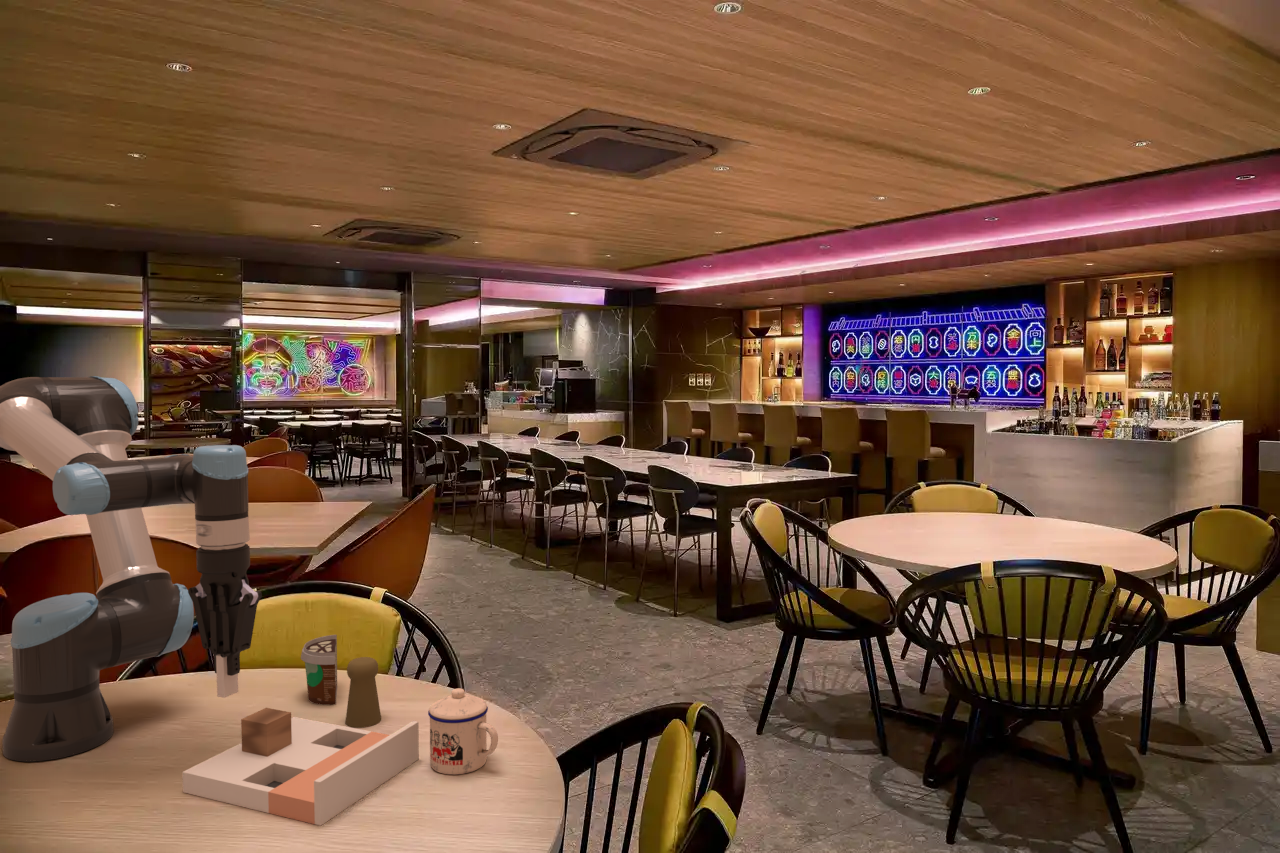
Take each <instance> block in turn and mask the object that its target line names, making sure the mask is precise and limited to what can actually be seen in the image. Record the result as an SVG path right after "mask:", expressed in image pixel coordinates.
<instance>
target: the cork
mask: <svg viewBox="0 0 1280 853" xmlns="http://www.w3.org/2000/svg"><path fill="white" fill-rule="evenodd" d="M378 672H379V663H378V662H377V660H376V659H375V658H373V657H368V656H360V657H357V658H354V659H352V660H350V661H349V663H348V664H347V668H346V674H347V677H348V678H349V679H350V683H349V690H348V697H347V707H346V713H345V714H346V715H345V724H344V725H346V727H351V728H356V729H361V728H362V729H363V728H369V727H372V726H375V725H377V724H379V723H380V722H381V721H382V714H381V707H380V701H379V695H378V689H377V682H376V676H377V675H378Z"/></svg>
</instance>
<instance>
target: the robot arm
mask: <svg viewBox="0 0 1280 853" xmlns="http://www.w3.org/2000/svg"><path fill="white" fill-rule="evenodd" d="M138 415H139V408H138V404H137V400H136V399H135V395H134V394H133V391H131V389H130V388H129V387H128V385H126V384H125V383H124V382H123V381H121V380H119V379H118V378H114V377H101V376H98V375H97V376H96V375H92V376H91V375H90V376H87V377H85V376H82V377H80V376H79V377H75V376H74V377H70V376H67V377H65V376H63V377H60V376H59V377H57V376H56V377H55V376H54V377H49V376H47V377H46V376H45V377H43V376H42V377H41V376H40V377H39V376H30V377H29V376H27V377H22V378H17V379H14V380H11V381H10V380H9V381H7V382H5V383H3V384H2V385H0V448H3V449H4V450H7V451H13V452H16V453H17V454H18V455H20V456H21V457H23V458H24V459H25V460H26V461H28V462H29V463H30V464H32V465H33V466H34V467H35V468H36V469H37V470H39V471H40V472H41V473H42V474H44V475H45V476H47V477H48V478H49V479H50V480H51V481H52V495H53V499H54V502H55V503H56V504H57V508H58V509H59V510H58V511H60V512H62V513H63V514H65V515H68V516H78V515H79V516H80V515H86V520H87V524H88V527H89V531H90V535H91V539H92V542H93V546H94V550H95V553H96V558H97V562H98V566H99V569H100V574H101V577H102V584H101V585H100V586H99V588H98V590H97V591H96V592H95V594H96V595H95V594H93V593H90V592H73V593H71V594H62V595H56V596H52V597H47V598H45V599H42V600H38V601H36V602H33V603H31V604H29V605H27V606H26V607H23V608H22V609H21V610H19V611H18V612H17V613H16V614H15V616H14V618H13V620H12V624H11V638H10V646H11V649H12V650H11V651H12V652H11V653H12V673H13V674H12V675H13V676H12V677H13V698H14V699H13V700H14V702H13V707H12V710H11V713H10V716H9V719H8V723H7V726H6V727H5V728H6V729H5V733H4V734H3V736H2V754H3V756H4V757H5V758H6V759H8V760H12V761H17V762H41V761H42V762H43V761H51V760H57V759H62V758H66V757H70V756H76V755H78V754H80V753H84V752H87V751H89V750H92V749H94V748H96V747H99V746H101V745H102V744H104V743H106V742H107V741H108V740H109V739H111V737H112V736H113V734H114V719H113V718H114V717H113V716H112V714H111V711H110V709H109V707H108V705H107V701H106V700H105V698H104V696H103V693H102V691H101V688H100V687H101V686H100V672H101V670H105V669H108V668H115V667H119V666H122V665H125V664H129V663H134V662H136V661H141V660H142V661H143V660H145V659H149V658H153V657H154V658H157V657H160V656H162V655H164V654H168V653H171V652H175V651H177V650H179V649H180V648H182V647H183V646H184V645H185V644H186V643H187V641H188V640H189V638H190V636H191V632H192V629H193V624H194V618H196V622H197V628H198V633H199V636H200V642H201V645H202V648H203V650H207V649H209V651H210V652H211V653H212V654H213V670H214V673H215V674H216V693H217V695H216V697H218V698H223V699H225V698H228V697H229V696H232V695H235V694H237V693H239V676H238V675H239V674H240V672H241V667H240V666H241V664H240V663H241V656H240V655H241V652H243V651H246V650H249V649H250V648H251V647H252V646H251V645H252V641H253V640H252V639H253V633H254V626H255V622H256V621H255V620H256V614H257V608H258V604H259V603H260V600H261V599H262V596H263V594H262V591H261V590H259V589H258V590H254V589H253V588H252V587H250V585H249V584H250V581H249V578H248V576H247V571H248V569H249V568H250V567H251V551H250V550H251V548H250V547H251V546H250V545H249V544H247V542H249V541H250V539H251V538H250V521H249V520H250V519H249V518H250V515H249V467H248V463H247V461H248V460H247V452H246V449H245V448H244V447H242V446H241V445H237V444H232V445H231V444H215V445H204V446H203V445H202V446H198V447H196V448H195V449H194V451H193V455H190V454H188V453H187V454H185V453H182V454H171V455H167V456H166V455H165V456H164V457H153V458H141V459H140V458H139V459H129V458H128V455H127V451H126V448H128V446H130V443H131V442H132V440H133V439H132V436H133V435H134V434H135V433H136V432H137V429H138V427H139V421H140V420H139V417H138ZM176 504H193V505H194V519H195V543H196V545H198V546H199V547H198V548H197V549H196V552H195V554H196V556H195V557H196V570H197V572H198V573H200V574H201V576H200V579H199V583H198V584H197V585H196V586H192V587H190V588H187V587H186V586H185V585H184V584H180V583H173V582H172V577H171V574H170V572H169V571H168V570H165V569H163V568H161V567H159V566H158V563H157V560H156V556H155V551H154V548H153V545H152V540H151V537H150V534H149V530H148V528H147V524H146V520H145V516H144V511H143V508H150V507H159V506H169V505H176Z"/></svg>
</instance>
